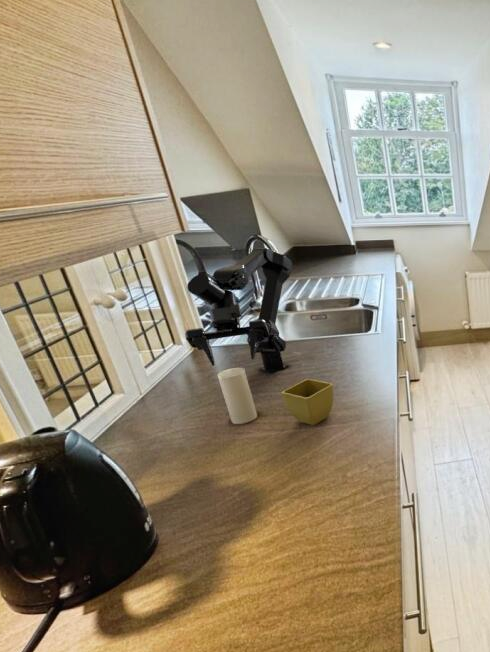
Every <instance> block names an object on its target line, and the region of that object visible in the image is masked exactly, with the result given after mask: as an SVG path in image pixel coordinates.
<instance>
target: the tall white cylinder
mask: <svg viewBox="0 0 490 652" xmlns="http://www.w3.org/2000/svg"><path fill="white" fill-rule="evenodd" d="M217 378H218V379H217V380H218V382H219V385H220V389H221V391H222V395H223V398H224V402H225V405H226V408H227V411H228V415H229V418H230V422H231V423H232V424H234V425H243V424H247V423H251V422H252V421H253V420H255V419H257V418H258V412H257V409H256V406H255V405H256V404H255V403H254V397H253V394H252V391H251V388H250V383H249V381H248V377H247V373H246V370H245V368H243V367H231V368H227V369H224V370H222V371H219V372H218V373H217Z"/></svg>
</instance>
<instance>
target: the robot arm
mask: <svg viewBox="0 0 490 652" xmlns="http://www.w3.org/2000/svg"><path fill="white" fill-rule="evenodd" d="M259 269H261V270H262V274H263V275H264V278H265V284H264V288H263V294H262V298H261V303H260V309H259V314H258V319H257V320H249V321H248V326H242V327H241V322H240V318H242V317H243V314H242V308H241V306H240V304H239V303H240V302H241V301H240V298H239V297H238V296H237V295H236V294H235V292H233V291H242V290H244V289H245V288H246V287H247V285H248V284H249V282H250V280H249V278H250V277H251V275H253V274H254V273H256V272H257V271H258V270H259ZM292 270H293V262H292V260H291V259H290V258H288V256H287V255H284V254H281V253H278V252H276V251H274V250H272V249H271V248H268V247H256V248H253V249H252V250H251V252H250V253H248V254H246V255H245V256H244V257H243V258H241V259H240V260H238V261H237V262H235V263H234V264H232V265H229V266H224V267H221V268H218V269H216V270H214V272H213V275H211V274H210V273H209V272H208V271H207V270H199V271H198V273H197V275H195V276H193V277H192V278H191V279H190V280H189V281H188V283H187V291H188V292H189V293H190V294H191V295H193V296H195V297H196V298H198V299H200V300H201V301H202V302H204V303H206V304H209V305H212V309H209V310H208V311H209V315H210V321H211V323H212V327H213V328H214V329H215V330H214V331H207V332H206V330H205V329H204V328H203V327H198V328H190V329H187V330H186V332H184V335H185V340H186V341H187V343H188V344H189V345H190V347H191V348H192V349H197V350H198V351H203V352H204V353H205V355H206V357H207V358H208V360H209V362H210V364H211V365H212V366H213V367H214V366H215V357H214V354H213V353H214V352H213V349H212V346H211V344H210V340H216V339H223V338H232V337H236V336H237V337H238V336H245V335H247V338H246V339H247V340H246V341H247V344H248V345H249V349H250V351H249V352H250V357H251V360H254V359H255V356H256V354H260V356H261V362H262V364H263V365H262V366H261V367H259V370H261V371H263V372H266V373H268V374H273V373H276V372H278V371H280V370H284V369H286V368H288V367H289V364H286V363H284V361H283V357H282V354H281V352H284V351H286V349H287V342H286V340H284V339H283V338H282V337H281V336H280V331H279V329H278V326H277V325H276V322H277V316H278V312H279V306H280V301H281V295H282V289H283V285H284V283H285V282H287V280H289V278H290V277H291V273H292Z"/></svg>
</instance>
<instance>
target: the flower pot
mask: <svg viewBox="0 0 490 652" xmlns="http://www.w3.org/2000/svg"><path fill="white" fill-rule="evenodd" d="M281 396H282V398H283V400H284V403H285V405H286V407H287V410H288V412H289V413H290V415H292V417H294V419H295V420H297V421H298V422H300V423H302V424H303V423H304V424H306V425H310V426H315V425H317V424H319V423H320V422H322V421H323V420H324V419H326V418H328V417H329V415H330V414H331V412H332V409H333V406H334V384H333V383H330V382H326V381H322V380H317V379H313V378H312V379H311V378H306V379H304V380H302V381H300V382H298V383H296V384H294V385H292V386H291V387H288V388H287V389H284V390H283V391H281Z"/></svg>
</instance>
